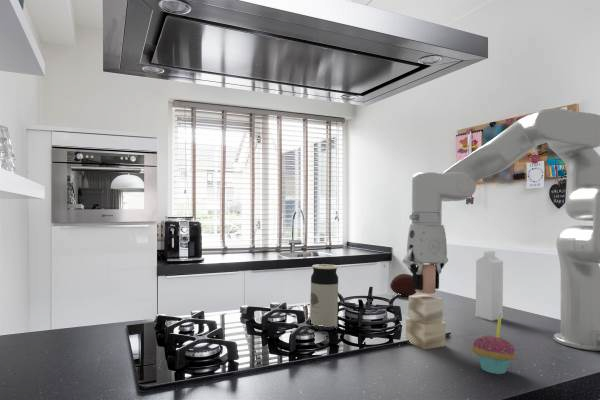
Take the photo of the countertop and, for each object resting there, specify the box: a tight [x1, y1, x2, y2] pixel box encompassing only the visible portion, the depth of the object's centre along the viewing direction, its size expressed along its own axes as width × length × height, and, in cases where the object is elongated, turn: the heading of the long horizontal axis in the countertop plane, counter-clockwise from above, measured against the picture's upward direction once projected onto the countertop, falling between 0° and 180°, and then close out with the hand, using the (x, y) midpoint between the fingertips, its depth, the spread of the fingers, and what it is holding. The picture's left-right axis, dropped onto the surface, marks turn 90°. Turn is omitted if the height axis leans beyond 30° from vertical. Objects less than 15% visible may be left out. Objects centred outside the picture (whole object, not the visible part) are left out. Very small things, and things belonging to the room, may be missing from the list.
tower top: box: [407, 293, 444, 325], centre depth 105 cm, size 6×6×6 cm
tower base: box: [405, 317, 447, 350], centre depth 105 cm, size 7×7×6 cm
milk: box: [475, 250, 504, 322], centre depth 135 cm, size 6×6×22 cm
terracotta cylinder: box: [416, 263, 436, 295], centre depth 106 cm, size 5×5×7 cm
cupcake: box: [471, 314, 516, 375], centre depth 88 cm, size 9×8×12 cm
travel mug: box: [309, 263, 339, 328], centre depth 118 cm, size 8×8×18 cm
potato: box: [390, 273, 417, 297], centre depth 167 cm, size 9×12×9 cm
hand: (425, 288), depth 106 cm, fingers closed on terracotta cylinder, 4 cm apart
